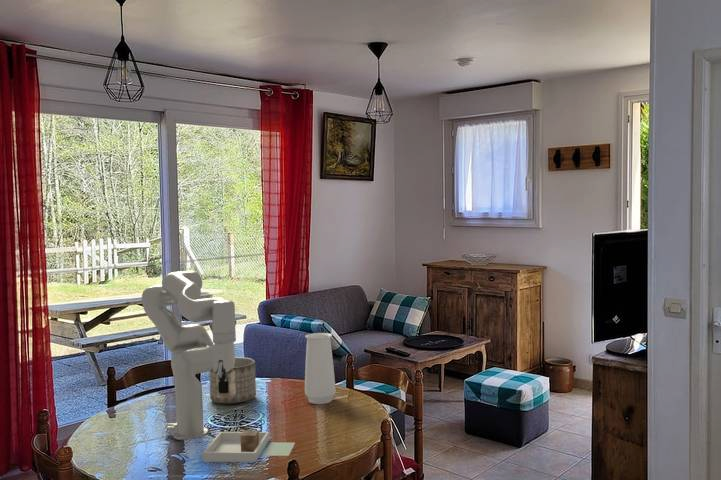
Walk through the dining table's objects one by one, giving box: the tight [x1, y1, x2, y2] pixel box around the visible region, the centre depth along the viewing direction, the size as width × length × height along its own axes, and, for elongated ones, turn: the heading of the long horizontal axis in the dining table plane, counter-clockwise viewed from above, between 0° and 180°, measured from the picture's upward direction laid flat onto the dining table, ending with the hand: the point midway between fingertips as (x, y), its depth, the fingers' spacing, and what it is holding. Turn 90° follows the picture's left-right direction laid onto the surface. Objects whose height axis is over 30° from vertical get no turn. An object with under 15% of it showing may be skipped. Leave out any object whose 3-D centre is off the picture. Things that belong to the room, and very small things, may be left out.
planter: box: [208, 356, 257, 405], centre depth 281 cm, size 19×19×16 cm
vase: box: [304, 332, 336, 405], centre depth 277 cm, size 13×13×28 cm
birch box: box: [216, 370, 236, 398], centre depth 220 cm, size 5×5×8 cm
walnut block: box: [240, 429, 260, 452], centre depth 220 cm, size 5×5×6 cm
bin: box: [201, 431, 270, 463], centre depth 221 cm, size 18×20×4 cm
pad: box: [261, 441, 296, 457], centre depth 221 cm, size 9×12×1 cm
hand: (226, 390), depth 220 cm, fingers closed on birch box, 5 cm apart
